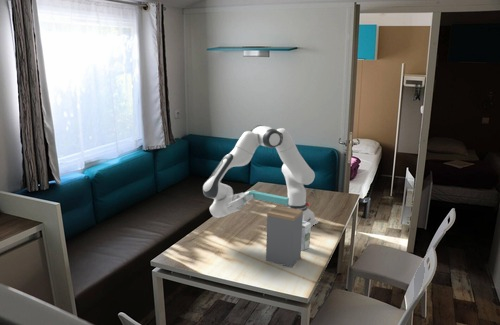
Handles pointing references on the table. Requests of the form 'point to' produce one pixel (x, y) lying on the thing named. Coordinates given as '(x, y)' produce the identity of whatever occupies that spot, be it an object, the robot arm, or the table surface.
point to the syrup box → (305, 235)
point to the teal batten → (270, 197)
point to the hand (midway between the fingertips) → (255, 194)
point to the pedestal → (284, 235)
